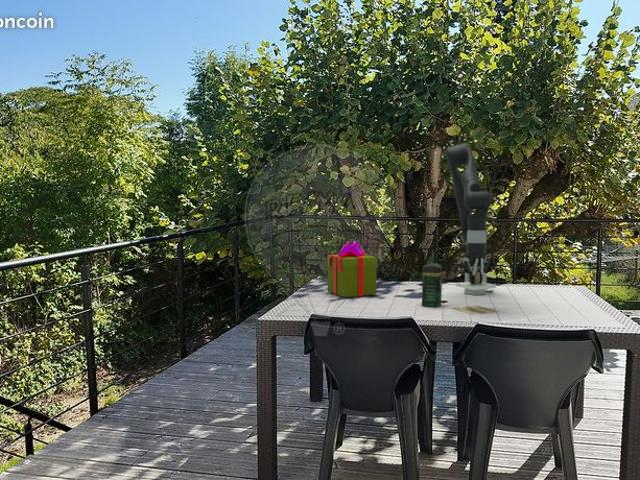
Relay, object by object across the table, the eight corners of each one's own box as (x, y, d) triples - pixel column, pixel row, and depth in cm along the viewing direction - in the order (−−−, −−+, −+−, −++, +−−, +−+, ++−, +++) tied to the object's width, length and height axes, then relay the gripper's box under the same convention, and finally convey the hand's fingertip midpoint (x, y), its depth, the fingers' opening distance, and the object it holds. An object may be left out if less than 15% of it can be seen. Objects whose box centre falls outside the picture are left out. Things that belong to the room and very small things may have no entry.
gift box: (321, 293, 276) (321, 241, 274) (354, 289, 288) (354, 239, 286) (348, 299, 259) (348, 244, 257) (382, 294, 272) (382, 242, 270)
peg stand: (477, 283, 240) (477, 269, 239) (495, 287, 230) (496, 272, 229) (456, 286, 235) (456, 271, 234) (474, 290, 225) (474, 274, 225)
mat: (476, 307, 242) (476, 305, 242) (499, 313, 230) (499, 311, 230) (449, 309, 237) (449, 307, 237) (471, 316, 224) (471, 314, 224)
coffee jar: (439, 309, 237) (440, 265, 235) (420, 308, 239) (420, 264, 238) (442, 305, 246) (443, 262, 244) (424, 304, 248) (424, 261, 247)
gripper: (483, 239, 237) (483, 281, 239) (456, 241, 231) (456, 283, 233) (496, 241, 230) (495, 283, 232) (468, 243, 224) (468, 286, 226)
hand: (475, 283), depth 232 cm, fingers closed on peg stand, 3 cm apart
